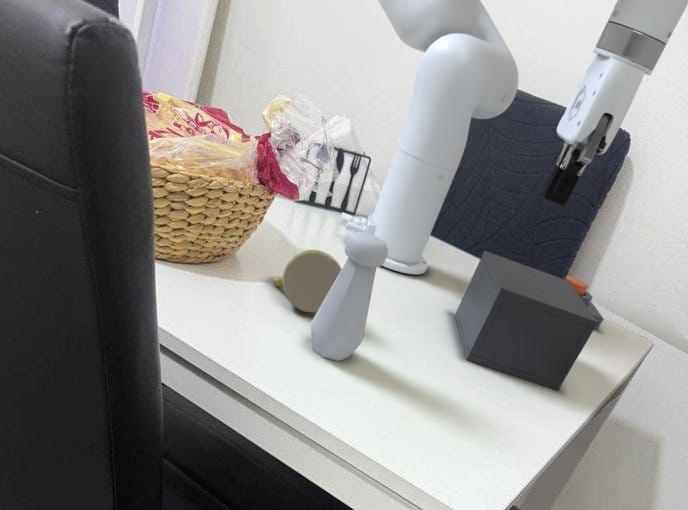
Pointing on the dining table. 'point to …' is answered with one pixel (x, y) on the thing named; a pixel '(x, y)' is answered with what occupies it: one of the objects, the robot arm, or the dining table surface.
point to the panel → (592, 308)
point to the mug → (309, 279)
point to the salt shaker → (348, 299)
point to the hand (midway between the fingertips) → (552, 200)
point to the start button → (577, 285)
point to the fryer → (523, 321)
